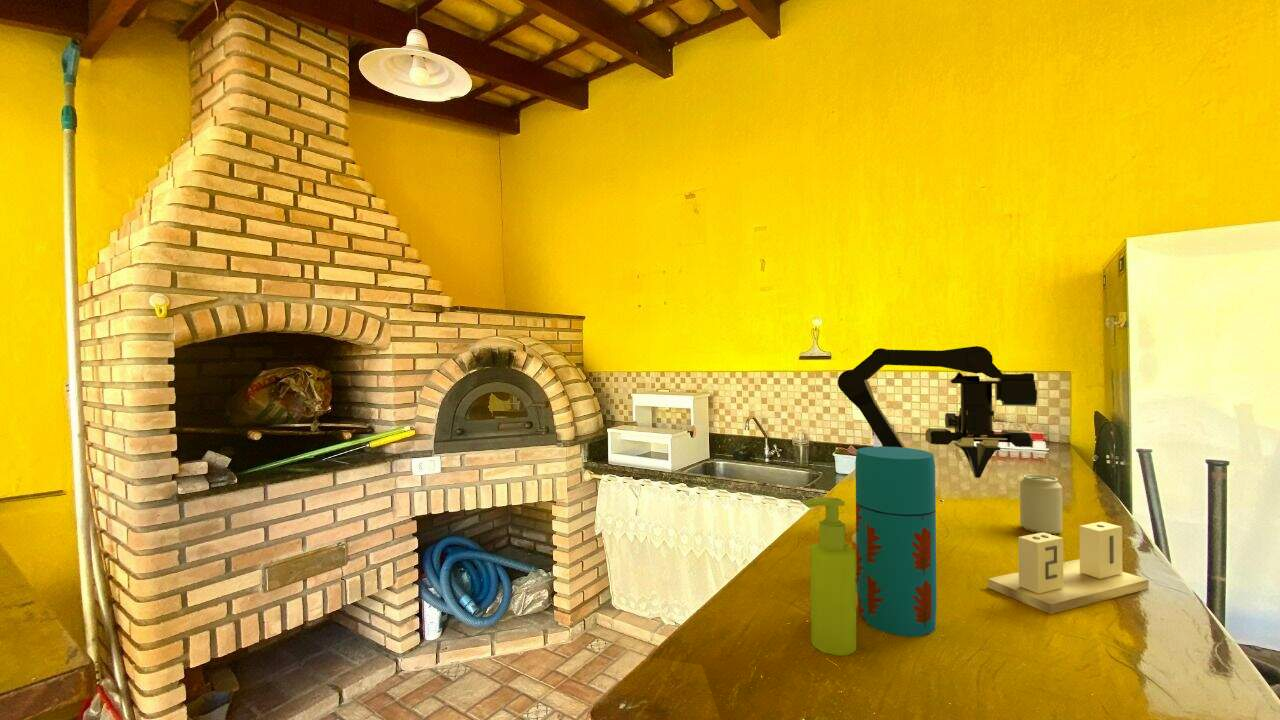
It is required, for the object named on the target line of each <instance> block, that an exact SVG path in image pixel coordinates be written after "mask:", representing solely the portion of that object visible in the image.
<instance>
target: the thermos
mask: <svg viewBox="0 0 1280 720" xmlns="http://www.w3.org/2000/svg"><path fill="white" fill-rule="evenodd" d="M854 463H855V464H854V465H855V466H854V467H855V470H854V471H855V528H856V529H855V533H856V559H857V578H856V599H857V610H858V611H857V612H858V615H859V617H860V619H861V620H862V621H863V622H865V624H867V625H868V626H869V627H872V628H874V629H877V630H878V631H881V632H884V633H887V634H892V635H895V636H901V637H908V638H909V637H910V638H911V637H922V636H923V635H924V636H927V635H930V634H932V633H933V632H934V631H935V630H936V621H937V603H938V602H937V601H938V600H937V597H938V596H937V515H936V514H937V511H936V510H937V508H936V501H937V500H936V497H937V496H936V494H937V493H936V463H935V456H934V453H932V452H929V451H927V450H923V449H917V448H910V447H905V448H902V447H883V446H868V447H867V446H866V447H861V448H858V449H857V450H856V455H855V462H854ZM926 634H927V635H926Z"/></svg>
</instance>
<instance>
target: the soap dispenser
mask: <svg viewBox="0 0 1280 720" xmlns="http://www.w3.org/2000/svg"><path fill="white" fill-rule="evenodd" d="M801 504H803V505H804V506H805V507H807V508H808V509H811V508H815V507H821V506H822V507H823V506H825V509H824V510H825V518H824V519H823V520H821V521H819V523H818V525H819V526H818V529H819V530H818V535H819V536H818V537H819V539H818V541H819V542H815V543H812V544H811V545H810V546H809V562H810V563H809V567H810V569H809V570H810V571H809V572H810V573H809V574H810V575H809V576H810V581H809V582H810V583H809V584H810V641H811V644H812V646H813V647H814V648H816V649H817V650H819V651H820V652H822V653H825V654H827V653H828V655H832V656H849V655H852V654H854V653H855V652H856V650H857V578H856V558H855V550H854V549H853V548H852V546H849V545H847V544H846V523H844V522H843V521H841V520H840V519H839V517H840V515H839V507H845V501H844V500H843V499H841V498H839V497H825V496H823V497H821V496H820V497H813V498H809V499H805V500H802V501H801Z"/></svg>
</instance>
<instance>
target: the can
mask: <svg viewBox="0 0 1280 720" xmlns="http://www.w3.org/2000/svg"><path fill="white" fill-rule="evenodd" d="M1022 477H1023V478H1022V480H1020V481H1019V515H1020V516H1019V524H1020V525H1021V526H1022V527H1023V528H1024V530H1026V529H1027V530H1026V531H1028V530H1029V531H1028V532H1030V531H1032V532H1031V533H1034V532H1036V533H1035V534H1037V533H1043V532H1044V533H1048V534H1054V535H1057V534H1058V533H1060V532H1062V531H1063V487H1062V485H1061V484H1060V483H1059V482H1058V481H1059V479H1058V478H1057V477H1056V476H1049V475H1045V474H1029V473H1028V474H1024V475H1023V476H1022Z"/></svg>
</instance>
